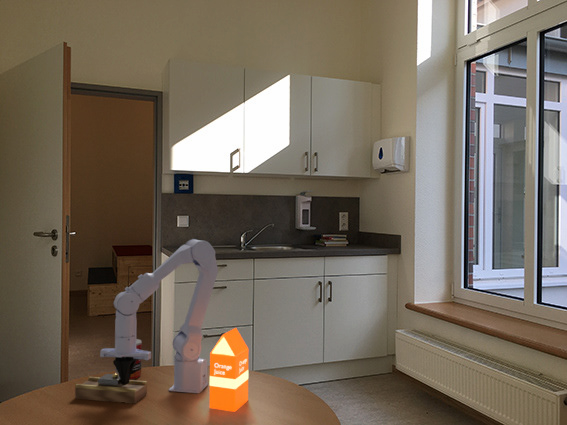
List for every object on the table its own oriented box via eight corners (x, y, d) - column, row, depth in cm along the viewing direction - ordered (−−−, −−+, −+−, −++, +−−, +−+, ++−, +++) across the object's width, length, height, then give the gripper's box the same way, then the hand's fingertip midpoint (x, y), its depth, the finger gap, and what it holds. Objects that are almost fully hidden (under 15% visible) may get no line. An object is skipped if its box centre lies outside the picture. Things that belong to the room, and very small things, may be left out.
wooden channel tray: (146, 394, 141) (146, 381, 141) (134, 403, 134) (134, 389, 134) (89, 389, 144) (89, 376, 144) (75, 398, 137) (75, 384, 137)
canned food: (134, 381, 152) (134, 345, 152) (110, 379, 154) (110, 343, 154) (145, 373, 160) (146, 339, 160) (123, 371, 161) (123, 337, 161)
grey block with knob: (125, 383, 141) (126, 372, 141) (117, 389, 136) (117, 377, 136) (106, 382, 142) (106, 370, 142) (98, 387, 137) (98, 375, 137)
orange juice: (248, 400, 137) (249, 328, 137) (235, 412, 129) (236, 335, 129) (223, 396, 140) (223, 326, 140) (208, 408, 132) (209, 333, 132)
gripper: (94, 337, 136) (93, 386, 136) (143, 340, 133) (142, 390, 133) (108, 331, 143) (107, 378, 143) (154, 334, 140) (154, 381, 140)
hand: (125, 383), depth 138 cm, fingers closed
